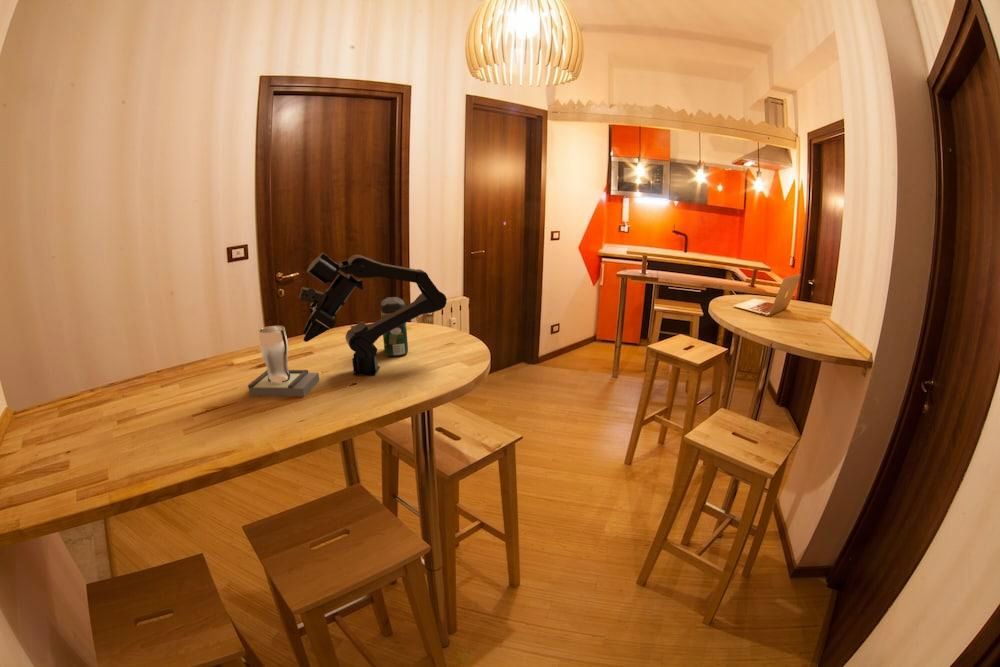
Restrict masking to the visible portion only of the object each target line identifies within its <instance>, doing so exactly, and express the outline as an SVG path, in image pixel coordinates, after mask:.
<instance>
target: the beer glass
mask: <svg viewBox="0 0 1000 667" xmlns="http://www.w3.org/2000/svg"><path fill="white" fill-rule="evenodd" d="M258 340H259V341H258V342H259V348H260V352H261V355H262V358H263V361H264V363H265V366H266V370H267V371H268V383H269V384H272V385H278V384H283V383H286V382H289V381H290V380H291V376H290V373H289V370H290V369H289V363H288V362H289V360H288V359H289V341H288V337H287V333H286V328H285V326H283V325H269V326H264V327H262V328H260V329H259V330H258Z"/></svg>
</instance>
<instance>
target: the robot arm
mask: <svg viewBox="0 0 1000 667" xmlns="http://www.w3.org/2000/svg"><path fill="white" fill-rule="evenodd" d="M342 272H343V273H342ZM306 273H308V274H309V275H311V276H312V277H313V278H315V279H317V280H318V281H320V282H321V283H323V285H324V284H327V283H329V284H331V285H330V286H329V287H328V288H326V289H324V290H323V292H322V291H319V290H316V289H315V288H311V287H305V286H302V287H301V289H300V293H299V296H298V299H299V300H300V301H302V302H305V301H306V302H308V303H310V305H309V314H310V316H309V317H308V320H307V323H306V325H305V327H304V329H303V331H302V333H303V334H304V337H303V341H304V342H306V343H307V342H309V341H311V340H312V339H315V338H316V337H318V336H320V335H322V334H323V333H326V332H327V331H330V330H332V329H333V328H334V327H335V325H336V323H337V322H336V318H335V317H337V312H338V311H339V310H340V309H341V307H342V306H344V305H345V304H346V301H347V300H348V298H349V297H350V295H351V294H352V293H353V291H354V290H355V289H356V288H358V289H360V291H364V286H363V284H364V283H363V280H362V278H364V279H367V278H370V279H371V278H386V279H390V280H391V279H392V280H398V281H403V282H409V283H415V284H416V285H417V287H418V289H419V291H420V292H421V293H420V294H419V295H418V296H417V297H416V298H415V299H414V301H412V302H410V303H409V304H407V305H405V307H403V308H401V309H399V310H397V311H395V312H393V313H391V314H389V315H388V316H386V317H384V318H382V319H381V318H380V319H378V320H376V321H374V322H372V323H367V324H366V322H365V321H364V320H362V321H360V322H358V323H357V324H355V325H350V329H349V330H347V332H346V334H345V342H346V343H347V345H348V346H349V348H350V349H351V351H353V352H354V353H353V358H352V359H351V361H352V369H353V375H354V376H375V375H376V374H377V373H378V371H379V370H380V368H381V366H380V365H379V362H378V361H379V360H378V348H377V347H376V345H375V343H376V342H377V340H378V339H379V338H380V337H383V335H384V334H385V333H387V332H389V331H391V330H393V329H395V328H397V327H399V326H401V325H402V324H404V323H406V324H407V323H408V322H410V321H412V320H413V319H415V318H417V317H419V316H421V315H425V314H426V315H427V314H431V313H436V312H439V311H441V310H443V309H444V308H445V307H446V304H447V297H446V295H445V293H443V292H442V291H440V290H439V289H438V288H437V286H436V284H434V282H433V281H432V280H431V279H430V277H429V275H428V273H427V272H426V271H424V270H423V269H419V268H418V269H415V268H411V267H410V268H409V267H406V266H405V267H404V266H400V265H399V266H398V265H394V264H393V265H392V264H388V263H382V262H379V261H377V260H374V259H372V258H369V257H366V256H364V255H361V254H353V255H351V256H350V257H349V258H348V259H346V260H343V261H340V262H335V261H334V260H332V259H331V258H330V257H329V256H328V255H327V254H326V253H324V252H321V253H320V254H319V255H318V256H317V257H316V258H315V259H313V261H311V263H309V266H308V268H307V269H306ZM352 275H353V276H352ZM354 276H355V277H354ZM357 278H358V279H357Z"/></svg>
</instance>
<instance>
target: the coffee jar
mask: <svg viewBox="0 0 1000 667" xmlns="http://www.w3.org/2000/svg"><path fill="white" fill-rule="evenodd" d="M405 306H406V304H405V301H404V300H403V298H400V297H398V296H392V297H389V296H388V297H385V299H383V300H381V301H380V317H381V318H380V319H382V318H384V317H386V316H388V315H389V314H391V313H393V312H395V311H397V310H399V309H401V308H403V307H405ZM407 330H408V329H407V322H406V323H404V324H402V325H401V326H399V327H397V328H395V329H393V330H391V331H389V332H387V333H385V334H384V335H382V337H383V348H384V354H385V355H386V356H388V357H394V356H396V357H401V356H405V355H407V354H408V352H409V345H408V344H409V342H408V333H407V332H408V331H407Z"/></svg>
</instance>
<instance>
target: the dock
mask: <svg viewBox="0 0 1000 667" xmlns="http://www.w3.org/2000/svg"><path fill="white" fill-rule="evenodd" d="M288 370H289V373H290V376H291V380H290V381H289V382H286V383H283V384H278V385H272V384H269V383H268V371H267V369H266V370H265V371H264V372H262V373H261V374H260V375H259V376H257V377H256V378H255V379H254V380H253V381H251V382H250V383H249V384H248V385H247V386H248V391H249V392H248V394H249V397H270V396H275V398H276V397H278V396H280V398H281V397H282V398H284V397H285V398H288V397H290V398H294V397H293V396H297V397H296V398H304V397H305V395H306V396H307V395H308V394H309V392H311V390H313V388H314V387H315V386H316V385H317V384H318V383H319V382H320V381H319V380H320V373H319V372H309V370H308V369H288ZM318 381H319V382H318ZM317 382H318V383H317ZM316 383H317V384H316ZM315 384H316V385H315Z"/></svg>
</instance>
